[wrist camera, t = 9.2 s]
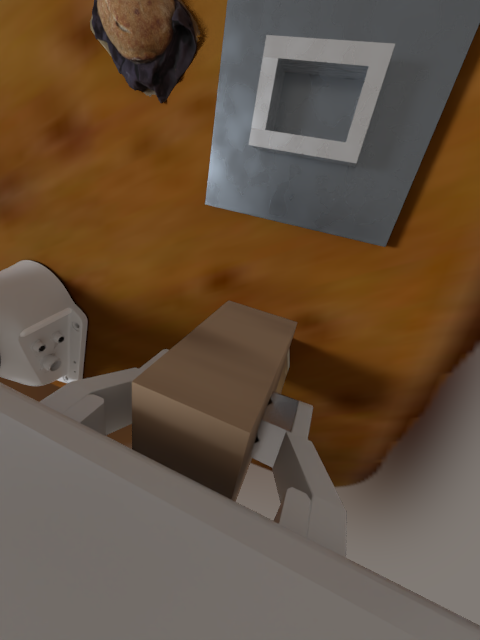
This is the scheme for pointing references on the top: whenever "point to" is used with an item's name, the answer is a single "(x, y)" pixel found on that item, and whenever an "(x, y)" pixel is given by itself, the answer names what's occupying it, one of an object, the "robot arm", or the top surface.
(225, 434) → the walnut peg
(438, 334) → the top surface
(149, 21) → the bread roll
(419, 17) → the metal duct collar
